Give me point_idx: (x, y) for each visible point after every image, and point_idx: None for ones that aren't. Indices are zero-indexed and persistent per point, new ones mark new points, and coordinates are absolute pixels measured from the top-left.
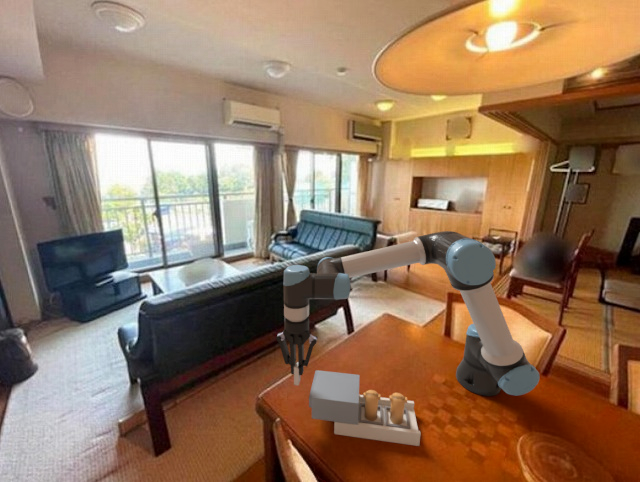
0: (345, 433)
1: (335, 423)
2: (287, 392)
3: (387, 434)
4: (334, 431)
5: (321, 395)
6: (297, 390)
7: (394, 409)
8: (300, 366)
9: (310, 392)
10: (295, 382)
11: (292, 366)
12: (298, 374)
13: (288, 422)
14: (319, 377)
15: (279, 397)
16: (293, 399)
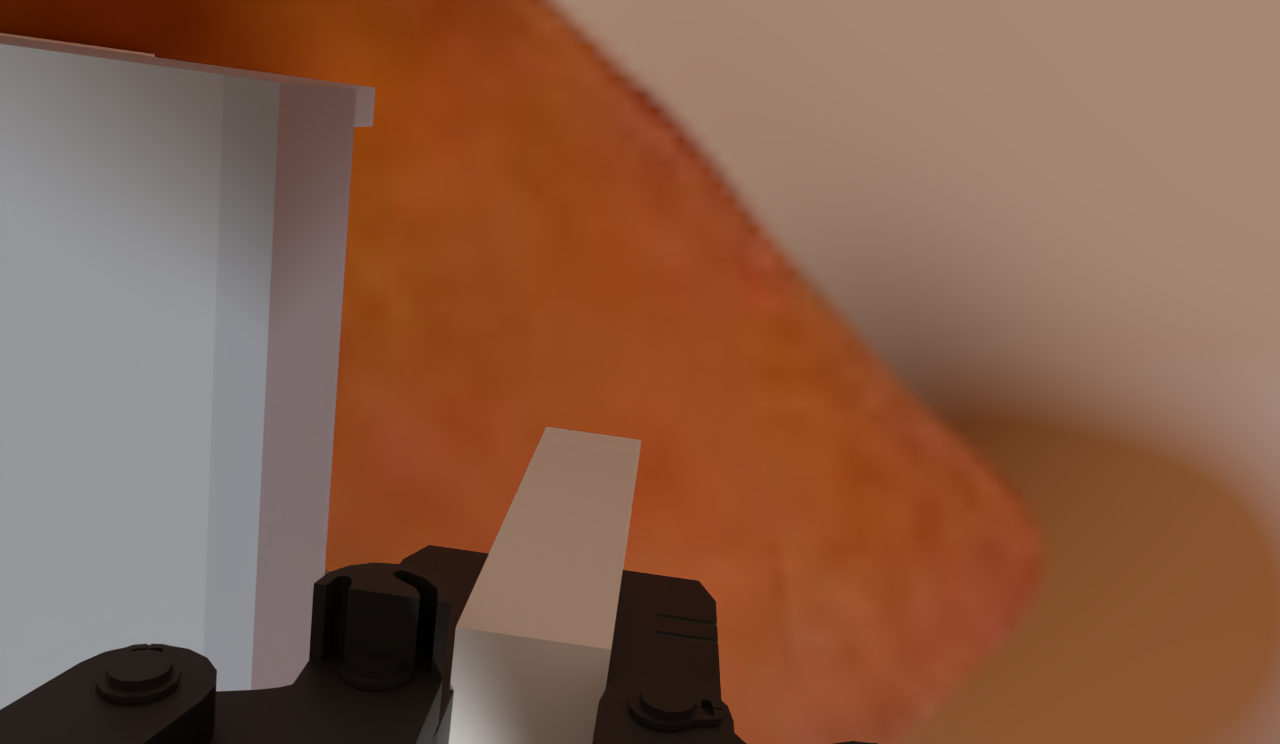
0: (2, 33)
1: (51, 42)
2: (786, 649)
3: None
4: (134, 52)
5: (26, 139)
6: None
7: None
8: (367, 646)
9: (267, 220)
10: (606, 457)
11: (658, 678)
12: (501, 530)
13: (725, 212)
14: (140, 624)
15: (879, 574)
16: (699, 545)
